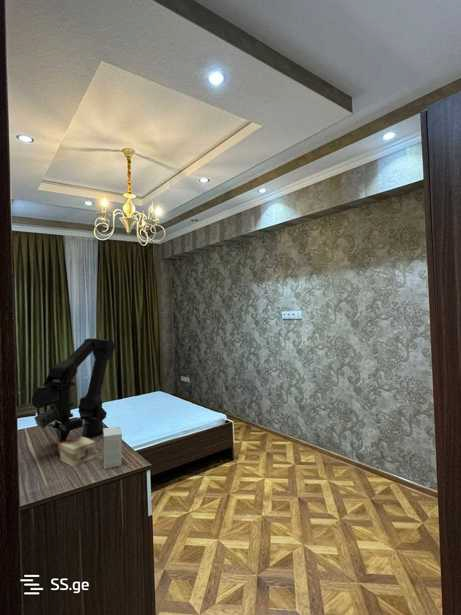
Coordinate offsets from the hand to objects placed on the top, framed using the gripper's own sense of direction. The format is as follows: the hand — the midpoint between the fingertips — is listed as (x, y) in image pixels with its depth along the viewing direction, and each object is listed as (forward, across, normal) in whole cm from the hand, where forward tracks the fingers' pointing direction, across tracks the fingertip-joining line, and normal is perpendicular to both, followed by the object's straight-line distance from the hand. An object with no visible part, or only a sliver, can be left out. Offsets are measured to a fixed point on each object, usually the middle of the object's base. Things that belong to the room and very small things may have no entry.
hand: (61, 444), depth 116 cm
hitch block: (+2, +11, 0) cm, 11 cm away
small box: (+3, +23, +5) cm, 24 cm away
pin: (+2, +7, 0) cm, 7 cm away
